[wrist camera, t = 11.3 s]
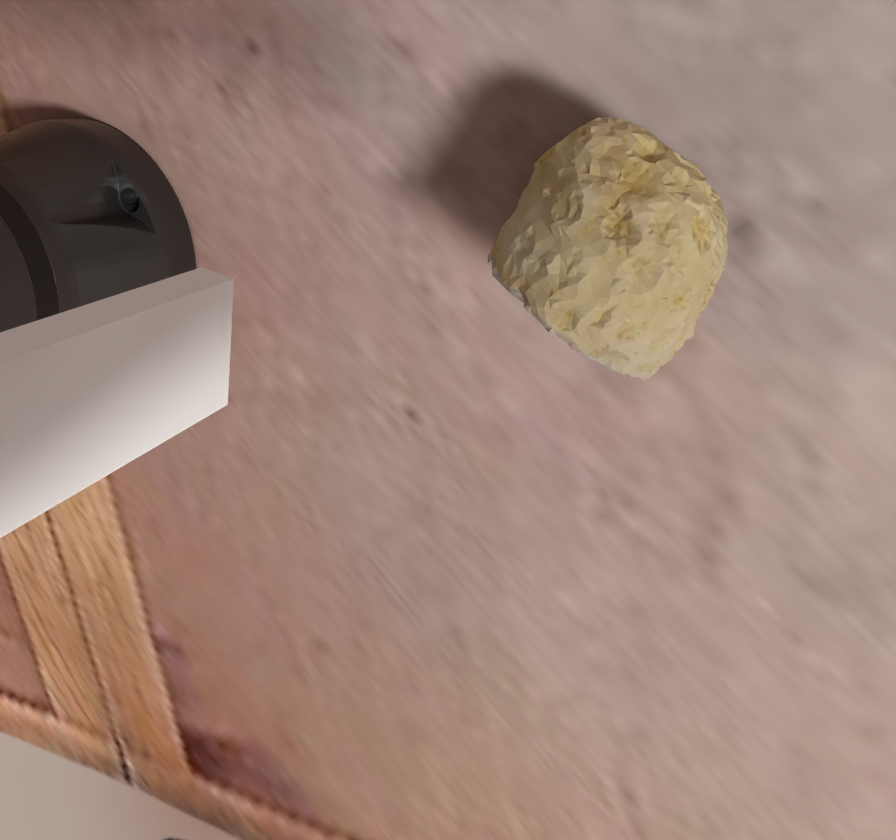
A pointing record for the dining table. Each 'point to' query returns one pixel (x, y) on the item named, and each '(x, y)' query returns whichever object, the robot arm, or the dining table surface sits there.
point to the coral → (615, 246)
